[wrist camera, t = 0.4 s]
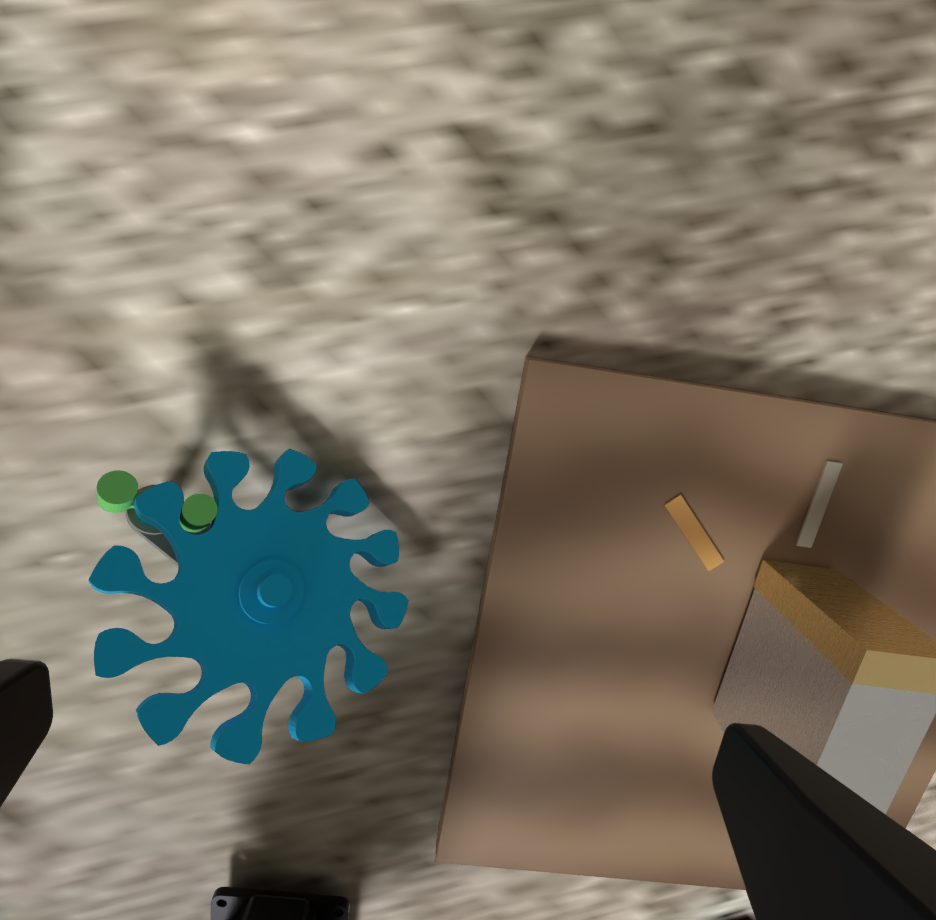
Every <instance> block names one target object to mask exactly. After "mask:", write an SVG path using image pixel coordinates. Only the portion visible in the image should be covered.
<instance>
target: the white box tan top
mask: <svg viewBox="0 0 936 920" xmlns="http://www.w3.org/2000/svg"><path fill="white" fill-rule="evenodd" d="M754 588H755V590H754V593H753V596H752V598H751V601H750V604H749V607H748V610H747V613H746V616H745V618H744V621H743V624H742V627H741V630H740V633H739V636H738V638H737V641H736V644H735V647H734V650H733V653H732V655H731V658H730V661H729V664H728V667H727V670H726V673H725V675H724V678H723V681H722V684H721V687H720V690H719V693H718V695H717V698H716V701H715V704H714V707H713V710H712V713H713V715H714V717H715V718H716V720H717V722H718V723H719V725H720V727H721V728H722V730H723V731H724V732H725V730H726V728H727V727H728V726H729V725H730V724H732V723H744V724H755V725H760V726H762V727H764V728H765V729H767V730H768V731H770V732H771V733H773V734H774V735H775V736H777V737H778V738H779V739H781V740H782V741H784V742H785V743H786V744H788V745H789V746H791V747H792V748H793V749H795V750H796V751H798V752H799V753H800V754H802V755H803V756H805V757H806V758H807V759H809V760H810V761H812V762H813V763H814V764H816V765H817V766H819V767H820V768H821V769H823V770H824V771H826V772H827V773H828V774H830V775H831V776H833V777H834V778H835V779H837V780H838V781H840V782H841V783H842V784H844V785H845V786H847V787H848V788H849V789H851V790H852V791H854V792H855V793H856V794H858V795H859V796H861V797H862V798H863V799H865V800H866V801H868V802H869V803H870V804H872V805H873V806H875V807H876V808H877V809H879V810H880V811H882V812H883V813H884V814H886V812H887V810H888V808H889V806H890V804H891V802H892V800H893V798H894V796H895V794H896V792H897V790H898V788H899V786H900V784H901V782H902V780H903V778H904V776H905V774H906V772H907V770H908V768H909V766H910V764H911V762H912V760H913V758H914V756H915V754H916V752H917V750H918V748H919V746H920V744H921V742H922V740H923V738H924V736H925V734H926V732H927V730H928V728H929V726H930V724H931V722H932V720H933V718H934V716H935V714H936V641H935V640H934V639H932V638H931V637H930V636H928V635H927V634H926V633H924V632H923V631H921V630H920V629H919V628H917V627H916V626H915V625H913V624H912V623H910V622H909V621H908V620H906V619H905V618H904V617H902V616H901V615H899V614H898V613H897V612H895V611H894V610H893V609H891V608H890V607H888V606H887V605H886V604H884V603H883V602H882V601H880V600H879V599H877V598H876V597H875V596H873V595H872V594H871V593H869V592H868V591H866V590H865V589H864V588H862V587H861V586H859V585H858V584H857V583H855V582H854V581H853V580H851V579H850V578H848V577H847V576H846V575H844V574H843V573H842V572H840V571H839V570H837V569H829V568H822V567H814V566H807V565H799V564H792V563H785V562H777V561H770V560H763V561H762V564H761V567H760V569H759V572H758V575H757V578H756V581H755V584H754Z"/></svg>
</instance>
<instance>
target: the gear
mask: <svg viewBox="0 0 936 920" xmlns="http://www.w3.org/2000/svg"><path fill="white" fill-rule="evenodd" d="M248 470H249V459H248V457H247V455H246V454H243V453H240V452H233V451H221V452H211V454H210V455H209V457H208V459H207V460H206V462H205V465H204V474H205V477H206V479H207V480H208V482H209V484H210V486H211V488H212V491H213V495H214V499H215V501H214V500H213V498H211V497H210V496H208V495H205V494H195V495H192V496H190V497H189V498H187V499H186V501H185V502H184V496H183V492H182V490H181V489H180V487H179V486H178V485H177V484H176V483H174V482H172V481H169V482H164V483H161V484H158V485H150V486H146V487H143V488H141V489H139V490H138V484H137V481H136V479H135V478H134V477H133V476H132V475H131V474H129V473H127V472H125V471H111V472H108V473H106V474H105V475H103V476H102V477H101V478H100V479H99V481H98V484H97V501H98V504H99V505H100V507H101V508H102V509H104V510H106V511H108V512H111V513H120V512H123V511H126V517H127V521H128V523H129V525H130V526H131V528H132V529H133V530H134V531H136V532H137V533H138V534H139V535H141V536H142V537H143V538H144V539H146V540H147V541H148V542H149V543H150V544H152V545H153V546H154V547H155V548H157V549H158V550H159V551H160V552H162V553H163V554H164V555H165V556H167V557H168V558H169V559H170V560H171V561H173V562H174V563H175V564H176V565H178V566H179V569H178V574H177V576H176V577H175V579H174V580H172V581H170V582H167V583H162V584H159V583H154V582H152V581H150V580H149V579H148V578H147V577H146V576H145V574H144V572H143V569H142V566H141V563H140V560H139V558H138V556H137V554H136V553H135V552H134V551H132V550H131V549H129V548H127V547H124V546H113V547H112V548H111V549H109V550H108V551H107V552H106V553H105V554H104V555H103V557H102V558H101V559H100V561H99V562H98V564H97V565H96V567H95V569H94V570H93V572H92V574H91V576H90V578H89V583H90V584H91V586H92V587H93V588H94V589H96V590H97V591H100V592H102V593H108V594H113V593H129V594H135V595H139V596H143V597H145V598H148V599H150V600H152V601H154V602H155V603H157V604H158V605H160V606H161V607H162V608H164V609H165V610H166V611H167V612H169V613H170V614H171V615H172V617H173V619H174V629H173V632H172V633H171V635H170V636H169V637H168V638H167V639H166V640H165V641H163V642H161V643H158V644H150V643H147V642H145V641H143V640H142V639H140V638H139V637H138V636H136V635H135V634H134V633H132V632H131V631H129V630H126V629H123V628H112V629H108V630H105V631H103V632H101V633H99V635H98V637H97V640H96V643H95V649H94V665H95V674H96V676H99V677H104V678H111V677H116V676H119V675H121V674H124V673H125V672H127V671H128V670H130V669H131V668H133V667H135V666H137V665H139V664H141V663H143V662H146V661H149V660H152V659H156V658H162V657H187V658H192V659H194V660H196V661H197V662H198V663H199V664H200V666H201V670H202V675H201V679H200V681H199V683H198V684H197V685H196V687H194V688H193V689H192V690H190V691H188V692H186V693H180V694H177V693H158V694H154V695H152V696H150V697H148V698H147V699H145V700H144V701H143V702H142V703H141V704H140V705H139V706H138V708H137V709H136V713H137V717H138V719H139V721H140V723H141V725H142V727H143V729H144V730H145V731H146V733H147V734H148V735H149V737H150V738H151V739H152V740H153V741H154V742H155V743H156V744H157V745H158V746H159V745H163V744H166V743H168V742H170V741H172V740H173V739H174V738H176V737H177V736H178V735H179V734H180V732H181V731H182V730H183V728H184V726H185V724H186V722H187V721H188V719H189V718H190V716H191V715H192V714H193V712H194V711H195V710H196V709H197V708H198V707H199V706H200V705H201V704H202V703H203V702H204V701H206V700H207V699H208V698H209V697H211V696H212V695H214V694H216V693H217V692H219V691H221V690H223V689H225V688H227V687H230V686H232V685H234V684H237V683H245V684H246V685H247V686H248V687H249V689H250V692H251V700H250V703H249V705H248V707H247V708H246V710H245V711H243V712H242V713H241V714H239V715H237V716H235V717H233V718H231V719H229V720H227V721H226V722H224V723H223V724H221V725H220V726H219V727H218V728H217V730H216V731H215V732H214V734H213V736H212V740H211V746H210V748H211V749H213V750H214V751H215V752H216V753H217V754H219V755H220V756H221V757H223V758H225V759H227V760H230V761H233V762H237V763H243V764H250V763H251V762H252V761H254V759H255V758H256V757H257V755H258V753H259V751H260V749H261V744H262V727H263V721H264V718H265V714H266V711H267V709H268V707H269V705H270V703H271V701H272V700H273V698H274V696H275V695H276V693H277V692H278V691H279V689H280V688H281V687H282V686H283V684H284V683H285V682H286V681H287V680H288V679H290V678H292V677H294V676H297V677H299V678H300V679H301V680H302V682H303V684H304V695H303V698H302V699H301V701H300V702H299V704H298V705H297V706H296V708H295V709H294V711H293V712H292V714H291V716H290V719H289V724H288V728H289V733H290V735H291V737H292V738H293V739H296V740H298V741H303V742H308V741H315V740H318V739H321V738H324V737H326V736H329V735H331V734H333V732H334V730H335V725H336V719H335V715H334V712H333V710H332V709H331V707H330V706H329V704H328V701H327V699H326V695H325V691H324V682H323V678H324V669H325V663H326V657H327V654H328V652H329V651H330V650H331V648H333V647H334V646H336V645H339V646H341V647H342V648H343V649H344V651H345V653H346V665H345V672H344V678H345V682H346V685H347V686H348V688H349V689H350V690H352V691H353V692H356V693H362V694H364V693H366V692H368V691H370V690H372V689H373V688H374V687H376V686H377V685H378V684H379V683H380V682H381V680H382V679H383V678H384V677H385V676H386V675H387V673H388V668H387V665H386V663H385V661H384V660H383V659H382V658H381V657H380V656H378V655H376V654H374V653H372V652H371V651H369V650H368V649H367V648H366V647H365V646H364V645H363V644H362V643H361V641H360V640H359V638H358V637H357V634H356V632H355V630H354V627H353V624H352V621H351V618H350V610H351V607H352V605H353V604H354V602H356V601H357V600H359V601H361V602H363V603H364V604H365V605H366V607H367V610H368V612H369V615H370V618H371V620H372V622H373V623H374V625H375V626H377V627H378V628H380V629H395V628H398V626H399V625H400V624H401V622H402V620H403V618H404V615H405V612H406V609H407V605H408V599H407V598H406V597H405V596H404V595H403V594H401V593H399V592H380V591H377V590H374V589H372V588H370V587H368V586H366V585H365V584H364V583H362V582H361V581H360V580H359V579H358V578H357V577H355V576H354V575H353V574H352V572H351V570H350V566H349V563H350V559H351V557H352V555H353V554H354V553H355V554H359V555H361V556H362V557H363V558H365V559H366V560H367V561H368V562H369V563H370V564H372V565H374V566H377V567H383V566H386V565H390V564H393V563H396V562H397V561H398V558H399V545H398V539H397V534H396V532H394V531H392V530H383V531H380V532H378V533H375V534H373V535H371V536H370V537H368V538H366V539H362V540H350V539H344V538H339V537H336V536H333V535H332V534H331V533H330V532H329V531H328V529H327V526H326V520H327V517H328V515H329V514H336V515H340V516H345V517H349V516H353V515H355V514H357V513H359V512H361V511H363V510H364V509H366V508H367V507H368V505H369V500H368V497H367V495H366V493H365V491H364V490H363V488H362V487H361V486H360V484H359V483H358V482H357V481H356V479H347V480H345V481H344V482H342V483H341V484H339V485H338V486H336V487H335V488H334V489H333V491H332V492H331V494H330V496H329V497H328V499H327V500H326V501H325V502H324V503H323V504H322V505H321V506H319V507H317V508H314V509H311V510H308V511H305V512H295V511H293V510H291V509H290V508H289V507H288V506H287V505H286V503H285V492H286V490H289V489H293V488H296V487H299V486H301V485H303V484H304V483H306V482H307V481H308V480H309V479H311V478H312V477H313V475H314V474H315V472H316V464H315V463H314V462H313V461H312V460H311V459H310V458H308V457H307V456H305V455H303V454H301V453H299V452H297V451H295V450H292V449H288V450H287V451H285V452H284V453H283V454H282V455H281V456H280V458H279V459H278V460H277V461H276V463H275V466H274V479H273V484H272V487H271V490H270V492H269V493H268V495H267V497H266V498H265V499H264V501H263V502H262V503H261V504H260V505H259V506H258V507H257V508H255V509H252V510H244V509H241V508H239V507H238V506H237V505H235V503H234V502H233V499H232V490H233V488H234V487H235V486H236V485H237V484H238V483H239V482H240V481H241V480H242V479H243V478H244V477H245V475H246V474H247V472H248ZM211 522H212V523H211ZM210 523H211V524H210Z"/></svg>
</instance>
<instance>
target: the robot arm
mask: <svg viewBox="0 0 936 920" xmlns="http://www.w3.org/2000/svg"><path fill="white" fill-rule="evenodd" d="M52 718H53V707H52V697H51V687H50V678H49V670H48V667H47V666H46V665H45V663H43V662H41V661H36V660H24V659H6V660H3V661H0V807H1V806H2V804H3V803H4V801H5V799H6V798H7V796H8V795H9V793H10V792H11V790H12V789H13V787H14V785H15V784H16V782H17V781H18V779H19V778H20V776H21V774H22V773H23V771H24V770H25V768H26V767H27V765H28V764H29V762H30V760H31V759H32V757H33V756H34V754H35V753H36V751H37V749H38V748H39V746H40V745H41V743H42V742H43V740H44V739H45V737H46V735H47V733H48V731H49V729H50V726H51V723H52ZM712 783H713V788H714V792H715V795H716V798H717V801H718V804H719V807H720V811H721V814H722V817H723V820H724V823H725V826H726V829H727V832H728V836H729V839H730V842H731V845H732V848H733V851H734V854H735V857H736V861H737V864H738V867H739V870H740V873H741V876H742V879H743V882H744V886H745V889H746V892H747V895H748V898H749V901H750V904H751V906H752V909H753V912H754V915H755V918H756V920H936V850H935V849H933V848H932V847H931V846H929V845H928V844H926V843H925V842H924V841H922V840H921V839H919V838H918V837H917V836H915V835H914V834H912V833H911V832H910V831H908V830H907V829H905V828H904V827H903V826H901V825H900V824H898V823H897V822H896V821H894V820H893V819H891V818H890V817H889V816H887V815H886V814H884V813H883V812H882V811H880V810H879V809H877V808H876V807H875V806H873V805H872V804H870V803H869V802H868V801H866V800H865V799H863V798H862V797H861V796H859V795H858V794H856V793H855V792H854V791H852V790H851V789H849V788H848V787H847V786H845V785H844V784H842V783H841V782H840V781H838V780H837V779H835V778H834V777H833V776H831V775H830V774H828V773H827V772H826V771H824V770H823V769H821V768H820V767H819V766H817V765H816V764H814V763H813V762H812V761H810V760H809V759H807V758H806V757H805V756H803V755H802V754H800V753H799V752H798V751H796V750H795V749H793V748H792V747H791V746H789V745H788V744H786V743H785V742H784V741H782V740H781V739H779V738H778V737H777V736H775V735H774V734H773V733H771V732H770V731H768V730H767V729H765V728H764V727H762V726H760V725H755V724H744V723H732V724H730V725H729V726H728V727H727V728H726V730H725V732H724V735H723V738H722V741H721V744H720V747H719V750H718V753H717V756H716V759H715V763H714V766H713V770H712ZM349 910H350V902H349V900H348V899H346V898H345V897H339V896H328V895H316V894H304V893H292V892H280V891H268V890H256V889H244V888H232V887H220V888H218V889H217V890H216V891H215V893H214V895H213V898H212V901H211V920H348V918H349Z"/></svg>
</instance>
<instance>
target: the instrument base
mask: <svg viewBox="0 0 936 920" xmlns="http://www.w3.org/2000/svg"><path fill="white" fill-rule="evenodd" d="M763 560H770V561H777V562H785V563H792V564H799V565H807V566H814V567H822V568H829V569H837V570H839V571H840V572H842V573H843V574H844V575H846V576H847V577H848V578H850V579H851V580H853V581H854V582H855V583H857V584H858V585H859V586H861V587H862V588H864V589H865V590H866V591H868V592H869V593H871V594H872V595H873V596H875V597H876V598H877V599H879V600H880V601H882V602H883V603H884V604H886V605H887V606H888V607H890V608H891V609H893V610H894V611H895V612H897V613H898V614H899V615H901V616H902V617H904V618H905V619H906V620H908V621H909V622H910V623H912V624H913V625H915V626H916V627H917V628H919V629H920V630H921V631H923V632H924V633H926V634H927V635H928V636H930V637H931V638H932V639H934V640H935V641H936V420H931V419H925V418H918V417H912V416H905V415H899V414H893V413H886V412H880V411H873V410H867V409H861V408H854V407H848V406H841V405H835V404H829V403H822V402H816V401H809V400H803V399H797V398H790V397H784V396H777V395H771V394H765V393H758V392H752V391H745V390H739V389H732V388H726V387H720V386H713V385H707V384H700V383H694V382H688V381H681V380H675V379H668V378H662V377H656V376H649V375H643V374H636V373H630V372H624V371H617V370H611V369H604V368H598V367H592V366H585V365H579V364H572V363H566V362H559V361H553V360H547V359H540V358H534V357H527V356H526V358H525V364H524V369H523V375H522V380H521V385H520V391H519V396H518V402H517V407H516V412H515V418H514V423H513V429H512V434H511V440H510V445H509V450H508V456H507V461H506V467H505V472H504V477H503V483H502V488H501V494H500V499H499V504H498V510H497V515H496V521H495V526H494V532H493V537H492V542H491V548H490V553H489V559H488V564H487V569H486V575H485V580H484V586H483V591H482V596H481V602H480V607H479V613H478V618H477V623H476V629H475V634H474V640H473V645H472V651H471V656H470V661H469V667H468V672H467V678H466V683H465V688H464V694H463V699H462V705H461V710H460V715H459V721H458V726H457V732H456V737H455V742H454V748H453V753H452V759H451V764H450V770H449V775H448V780H447V786H446V791H445V797H444V802H443V807H442V813H441V818H440V824H439V829H438V834H437V840H436V861H435V862H439V863H450V864H462V865H473V866H484V867H495V868H506V869H517V870H529V871H540V872H551V873H562V874H573V875H584V876H596V877H607V878H618V879H629V880H640V881H651V882H663V883H674V884H685V885H696V886H707V887H719V888H730V889H741V890H746V889H745V886H744V882H743V879H742V876H741V873H740V870H739V867H738V864H737V861H736V857H735V854H734V851H733V848H732V845H731V842H730V839H729V836H728V832H727V829H726V826H725V823H724V820H723V817H722V814H721V811H720V807H719V804H718V801H717V798H716V795H715V792H714V788H713V783H712V770H713V766H714V763H715V759H716V756H717V753H718V750H719V747H720V744H721V741H722V738H723V735H724V731H723V730H722V728H721V727H720V725H719V723H718V722H717V720H716V718H715V717H714V715H713V713H712V710H713V707H714V704H715V701H716V698H717V695H718V693H719V690H720V687H721V684H722V681H723V678H724V675H725V673H726V670H727V667H728V664H729V661H730V658H731V655H732V653H733V650H734V647H735V644H736V641H737V638H738V636H739V633H740V630H741V627H742V624H743V621H744V618H745V616H746V613H747V610H748V607H749V604H750V601H751V598H752V596H753V593H754V590H755V588H754V584H755V581H756V578H757V575H758V572H759V569H760V567H761V564H762V561H763ZM935 770H936V714H935V716H934V718H933V720H932V722H931V724H930V726H929V728H928V730H927V732H926V734H925V736H924V738H923V740H922V742H921V744H920V746H919V748H918V750H917V752H916V754H915V756H914V758H913V760H912V762H911V764H910V766H909V768H908V770H907V772H906V774H905V776H904V778H903V780H902V782H901V784H900V786H899V788H898V790H897V792H896V794H895V796H894V798H893V800H892V802H891V804H890V806H889V808H888V810H887V812H886V815H887V816H889V817H890V818H891V819H893V820H894V821H896V822H897V823H898V824H900V825H901V826H903V827H904V828H906V826H907V824H908V823H909V821H910V819H911V817H912V815H913V813H914V811H915V809H916V807H917V805H918V803H919V801H920V799H921V797H922V796H923V794H924V792H925V790H926V788H927V786H928V784H929V782H930V780H931V778H932V776H933V774H934V772H935Z"/></svg>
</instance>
